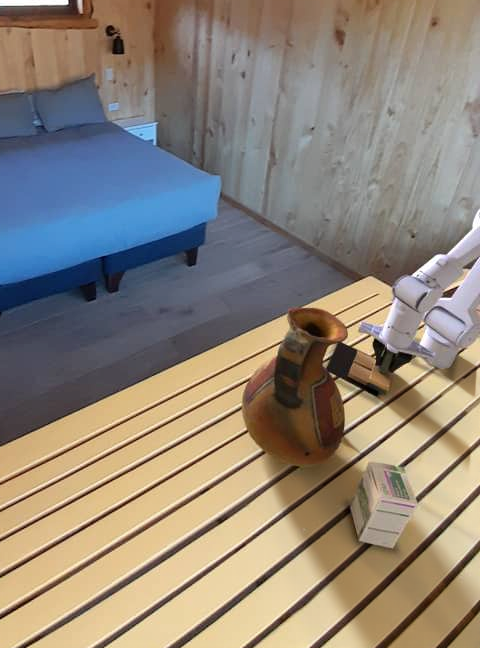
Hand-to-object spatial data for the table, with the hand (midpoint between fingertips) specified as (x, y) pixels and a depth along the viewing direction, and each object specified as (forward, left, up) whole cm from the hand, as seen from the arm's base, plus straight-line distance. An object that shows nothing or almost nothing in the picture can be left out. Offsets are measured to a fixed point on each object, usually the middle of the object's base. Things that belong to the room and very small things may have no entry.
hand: (384, 366), depth 95 cm
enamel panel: (0, -5, -6) cm, 8 cm away
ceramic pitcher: (+26, -13, -6) cm, 29 cm away
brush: (0, 0, -4) cm, 4 cm away
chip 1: (-2, -4, -4) cm, 6 cm away
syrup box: (+34, +5, -6) cm, 35 cm away
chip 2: (+2, -4, -4) cm, 6 cm away
